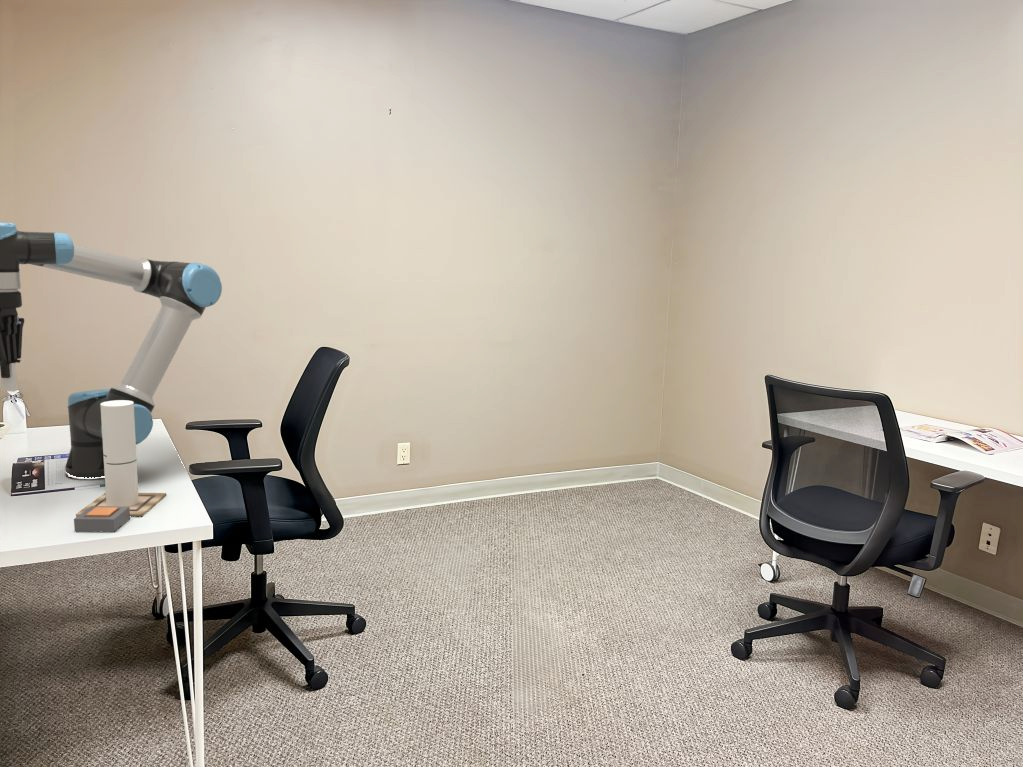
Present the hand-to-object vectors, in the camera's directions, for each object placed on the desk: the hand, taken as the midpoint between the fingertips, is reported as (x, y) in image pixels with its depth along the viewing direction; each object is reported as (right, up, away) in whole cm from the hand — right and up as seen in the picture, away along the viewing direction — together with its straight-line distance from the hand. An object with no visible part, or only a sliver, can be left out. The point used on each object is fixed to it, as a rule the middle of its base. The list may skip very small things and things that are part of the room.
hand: (9, 390), depth 185 cm
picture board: (+23, -28, +8) cm, 37 cm away
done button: (+25, -30, -5) cm, 40 cm away
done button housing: (+25, -31, -5) cm, 40 cm away
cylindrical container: (+23, -28, +8) cm, 37 cm away
